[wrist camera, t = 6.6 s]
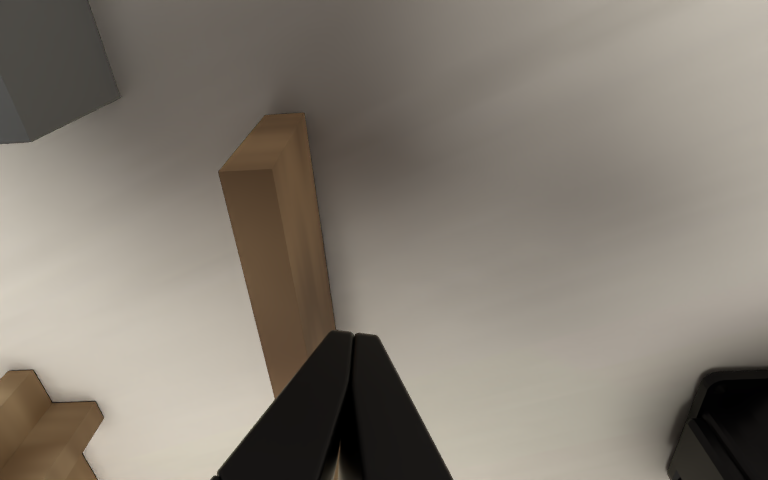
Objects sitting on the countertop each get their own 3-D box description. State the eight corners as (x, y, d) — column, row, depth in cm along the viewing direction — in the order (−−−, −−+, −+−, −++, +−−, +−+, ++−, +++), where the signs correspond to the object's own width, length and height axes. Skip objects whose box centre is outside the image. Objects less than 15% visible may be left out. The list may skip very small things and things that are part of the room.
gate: (342, 374, 18) (330, 476, 15) (313, 375, 18) (294, 477, 15) (304, 112, 13) (272, 169, 10) (264, 115, 13) (218, 171, 10)
